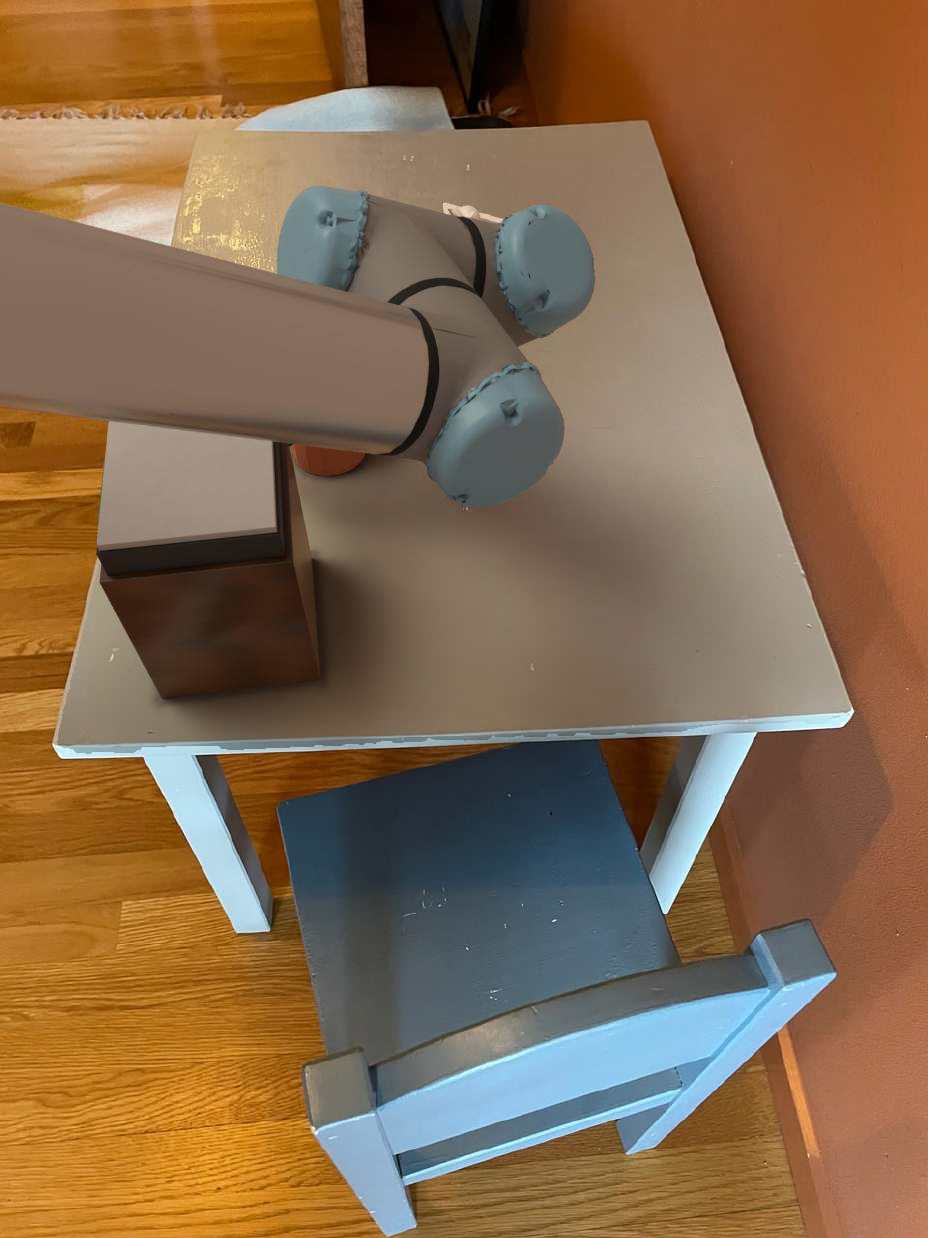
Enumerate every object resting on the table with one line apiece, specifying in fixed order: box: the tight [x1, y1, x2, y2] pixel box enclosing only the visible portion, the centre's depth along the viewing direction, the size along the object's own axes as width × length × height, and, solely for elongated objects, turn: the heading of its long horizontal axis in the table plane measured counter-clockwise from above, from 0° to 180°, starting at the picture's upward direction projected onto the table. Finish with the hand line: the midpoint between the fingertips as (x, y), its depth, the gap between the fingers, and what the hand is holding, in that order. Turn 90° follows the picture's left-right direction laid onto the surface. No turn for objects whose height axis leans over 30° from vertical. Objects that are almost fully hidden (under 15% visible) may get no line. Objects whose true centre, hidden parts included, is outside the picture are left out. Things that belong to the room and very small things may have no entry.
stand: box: [99, 442, 321, 699], centre depth 72 cm, size 13×13×16 cm
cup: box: [290, 444, 367, 477], centre depth 85 cm, size 7×7×12 cm
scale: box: [95, 421, 286, 575], centre depth 64 cm, size 12×12×3 cm
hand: (307, 399), depth 87 cm, fingers open, 13 cm apart
